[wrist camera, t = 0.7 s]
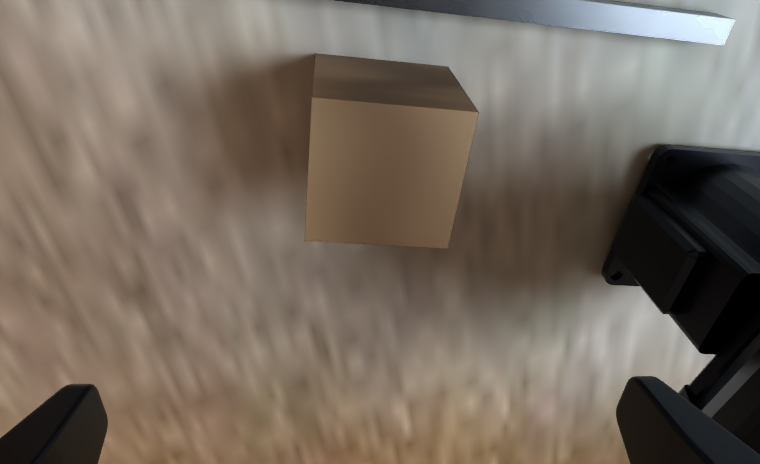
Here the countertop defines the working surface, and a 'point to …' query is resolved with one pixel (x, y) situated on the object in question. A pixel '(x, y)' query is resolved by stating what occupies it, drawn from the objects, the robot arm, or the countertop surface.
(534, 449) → the countertop surface
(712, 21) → the track
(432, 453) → the countertop surface
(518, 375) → the countertop surface
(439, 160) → the block
